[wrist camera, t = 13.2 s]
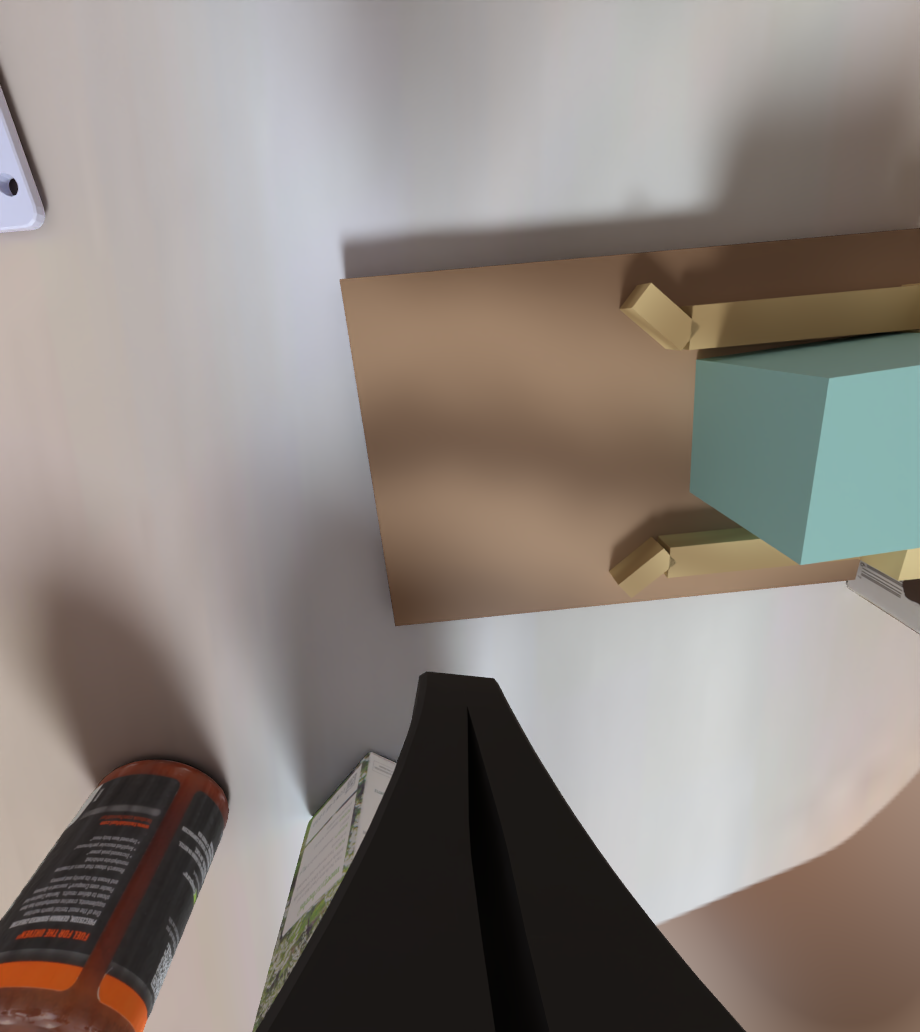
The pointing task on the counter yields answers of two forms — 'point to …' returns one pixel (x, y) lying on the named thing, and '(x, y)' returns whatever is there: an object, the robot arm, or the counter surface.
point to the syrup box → (325, 865)
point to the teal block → (814, 444)
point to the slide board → (589, 417)
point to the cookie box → (889, 594)
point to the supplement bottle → (110, 902)
